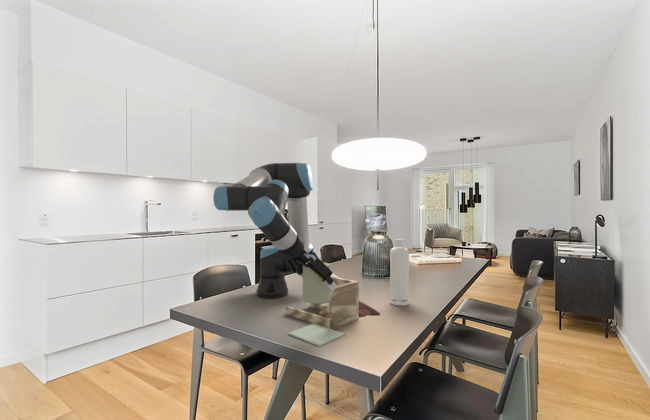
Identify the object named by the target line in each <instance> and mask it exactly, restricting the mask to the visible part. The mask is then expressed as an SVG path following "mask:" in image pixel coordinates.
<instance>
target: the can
mask: <svg viewBox="0 0 650 420" xmlns="http://www.w3.org/2000/svg"><path fill="white" fill-rule="evenodd" d="M322 262H323V261H322ZM323 263H324V264H325V265H326V266H327V267H328V268H329V269H330V270H331V263H329V262H325V261H324V262H323ZM306 264H307V263H306ZM301 299H302V301H303V303H307V304H308V303H309V304H310V303H325V302H328V301H330V290H329V289H328V287H327V286H326V285H325V284H324V282H322V278H321V277H320V276H319V275H317V274H316V273H315V272H314V271H312V270H311V269H310V268H309V267H307V268H306V267H305V266H304V265H303V278H302V298H301Z"/></svg>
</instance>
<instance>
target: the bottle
mask: <svg viewBox="0 0 650 420" xmlns="http://www.w3.org/2000/svg"><path fill="white" fill-rule="evenodd" d="M393 240H394V245H393V247H392V248H390V251H389V256H390V257H389V258H390V259H389V260H390V261H389V262H390V267H389V268H390V269H389V270H390V271H389V275H390V276H389V290H390V291H389V303H390V304H392V305H395V306H400V307H401V306H408V305H409V304H410V299H409V298H410V251H409V249H408V248H407V247H406V245H405V241H406V238H394V239H393Z"/></svg>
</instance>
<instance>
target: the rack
mask: <svg viewBox="0 0 650 420" xmlns="http://www.w3.org/2000/svg"><path fill="white" fill-rule="evenodd" d="M331 278H332V280H333V281H334V282H335V284H336V285H337V286H336V288H335V290H334V291H333V292H331V291H330V301H328V302H325V303H329V302H330V303H329V318H326V317H322V316H320V314H315V313H312V312H309V311H306V310H302V309H300V308H296V307H293V306H290V305H287V306H286V307H285V314H286V315H288V316H290V317H293V318H295V319H296V318H297V319H298V320H299V319H300V320H302V321H305V322H309V323H311V324H317V325H320V326H323V327H326V328H329V329H332V330H335V329H338V328H340V327H343V326H345V325H347V324H350V323H351V322H354V321H357V320H359V318H360V317H359V301H360V299H359V298H360V296H359V295H360V293H359V292H360V289H359V288H360V287H359V286H360V285H359V284H360V283H359V282H360V281H356V280H354V279H353V280H351V279H346V278H342V277H339V278H337V277H332V276H331ZM325 303H309V304H310V308H313V309H317V310H321V305H322V304H325Z"/></svg>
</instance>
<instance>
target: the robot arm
mask: <svg viewBox="0 0 650 420" xmlns="http://www.w3.org/2000/svg"><path fill="white" fill-rule="evenodd" d="M313 189H314V178H313V173H312V169H311V166H310V165H309V164H308V163H305V162H304V163H303V162H302V163H301V162H282V163H281V162H272V163H268V164H264V165H261V166H258V167H256V168H255V169H253V170H251V171H250V172H249V174H248V175H247V176H245V177H244V178H243V179H240V180H239V181H237V182H236V183H234V184H233V185H223V186H217V187H216V188H215V189H214V191H213V204H214V207H215V208H216V210H218V211H226V212H228V211H230V212H231V211H232V212H233V211H240V212H241V211H244V212H245V211H247V214H248V216H249V217H250V220H251V221H252V222H253V225H255V226H256V227H257V228H258V229H259V230H260V232H262V233H263V234H264V236H265V237H266V238H267V240H268V241H269V242H270V243H271V244H272V245H270V246H266V247H262V248H261V250H260V257H259V261H260V263H259V270H260V271H259V272H260V273H259V282H258V285H257V289H256V292H255V293H256V296H257V297H258V298H262V299H279V298H284V297H288V295H289V288H288V284H287V281H286V275H285V274H297V275H299V276H300V277H301V278H302V279H303V265H304V266H305V267H306V268H307V267H309V268H310V269H311V270H312V271H314V272H315V273H316V274H317V275H319V276H320V277H321V278H322V282H324V284H325V285H326V286H327V287H328V289H329V290H330V291H331V292H333V291H334V290H335V288H336V286H337V285H336V284H335V282H334V281H333V280H332V278H331V275H332V273H333V271H332V270H331V268H330V269H329V268H328V267H327V266H326V265H325V264H324V263H323V261H322V260H321V259H320V258H319V257H318V255H317V254H316V253H317V249H316V248H314V247H313V244H312V243H311V242H310V237H309V234H310V233H309V219H308V218H309V217H308V216H309V215H308V214H309V213H308V200H307V198H308V197H309V196H310V194H311V191H313ZM286 206H287V215H288V220H287V219H286V217H285V216H284V215H285V210H286ZM306 263H307V264H306ZM333 274H334V273H333Z"/></svg>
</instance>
